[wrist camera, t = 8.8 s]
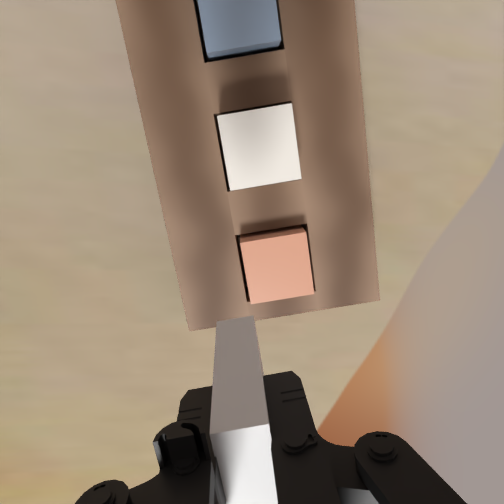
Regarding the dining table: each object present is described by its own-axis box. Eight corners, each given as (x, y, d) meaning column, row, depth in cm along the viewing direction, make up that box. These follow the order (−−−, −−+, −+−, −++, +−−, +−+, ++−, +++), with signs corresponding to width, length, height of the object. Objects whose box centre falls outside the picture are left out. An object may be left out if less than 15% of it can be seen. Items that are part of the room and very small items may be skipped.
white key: (231, 185, 28) (230, 190, 25) (219, 118, 27) (216, 115, 24) (295, 174, 28) (301, 179, 25) (285, 107, 27) (291, 103, 24)
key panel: (196, 302, 35) (189, 331, 30) (129, -12, 29) (105, -45, 24) (358, 276, 35) (380, 300, 30) (326, -46, 29) (346, -88, 24)
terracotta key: (249, 289, 31) (250, 304, 28) (240, 233, 30) (240, 243, 27) (307, 279, 31) (314, 294, 28) (299, 223, 30) (306, 232, 27)
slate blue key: (210, 62, 27) (206, 52, 24) (197, -14, 26) (191, -33, 23) (276, 50, 27) (281, 40, 24) (266, -26, 26) (269, -47, 23)
